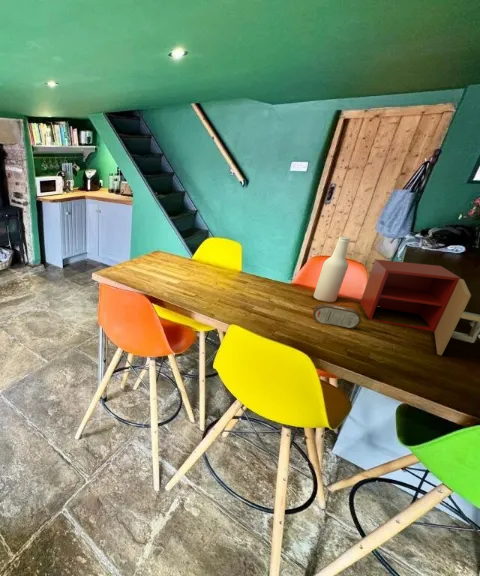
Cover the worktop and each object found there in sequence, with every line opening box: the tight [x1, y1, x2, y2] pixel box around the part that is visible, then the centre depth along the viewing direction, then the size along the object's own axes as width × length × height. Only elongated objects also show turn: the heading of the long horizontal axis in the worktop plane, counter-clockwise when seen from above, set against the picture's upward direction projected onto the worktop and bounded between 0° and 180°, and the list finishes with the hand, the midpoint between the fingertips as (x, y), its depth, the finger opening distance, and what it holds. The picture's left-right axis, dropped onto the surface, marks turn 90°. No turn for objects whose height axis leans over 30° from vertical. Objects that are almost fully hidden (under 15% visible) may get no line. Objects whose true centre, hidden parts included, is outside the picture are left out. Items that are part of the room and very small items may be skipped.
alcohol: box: [313, 236, 351, 303], centre depth 137 cm, size 9×9×30 cm
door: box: [433, 278, 480, 356], centre depth 101 cm, size 6×20×22 cm, turn 136°
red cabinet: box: [359, 259, 461, 333], centre depth 121 cm, size 16×20×22 cm
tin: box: [312, 302, 362, 329], centre depth 118 cm, size 15×3×8 cm, turn 59°
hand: (474, 331), depth 95 cm, fingers open, 8 cm apart
